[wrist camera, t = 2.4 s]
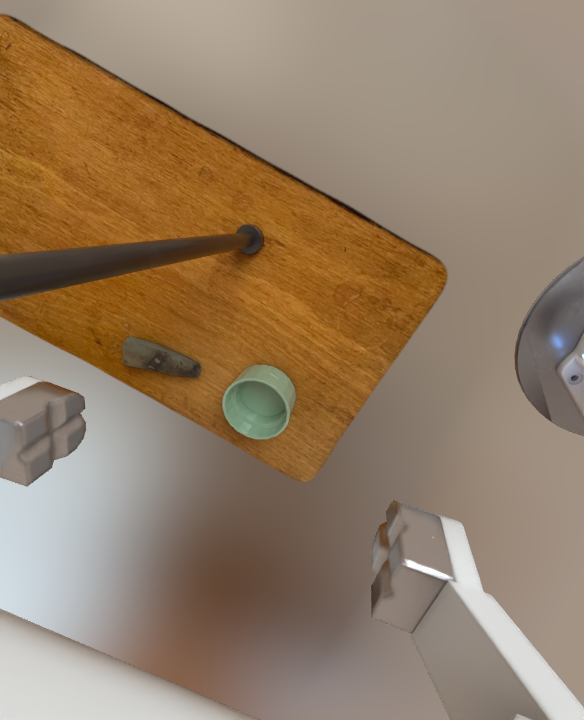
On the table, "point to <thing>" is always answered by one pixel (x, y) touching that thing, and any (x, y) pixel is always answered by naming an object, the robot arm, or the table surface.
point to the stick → (111, 260)
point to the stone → (157, 358)
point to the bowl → (259, 402)
